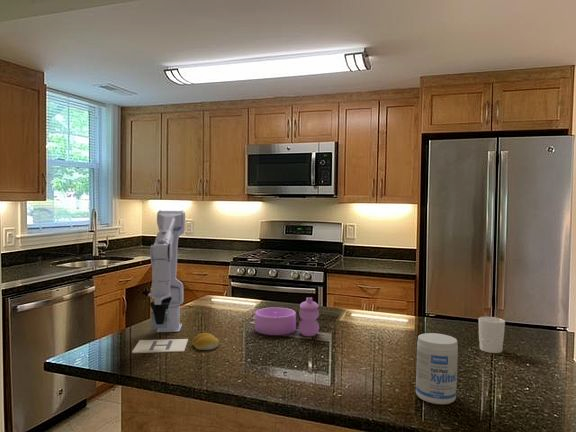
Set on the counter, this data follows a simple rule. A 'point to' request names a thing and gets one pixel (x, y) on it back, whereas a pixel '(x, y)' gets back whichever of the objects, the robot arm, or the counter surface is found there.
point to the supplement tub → (436, 368)
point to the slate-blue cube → (160, 326)
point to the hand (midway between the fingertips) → (161, 321)
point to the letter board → (160, 346)
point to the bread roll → (205, 341)
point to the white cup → (491, 334)
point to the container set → (288, 319)
